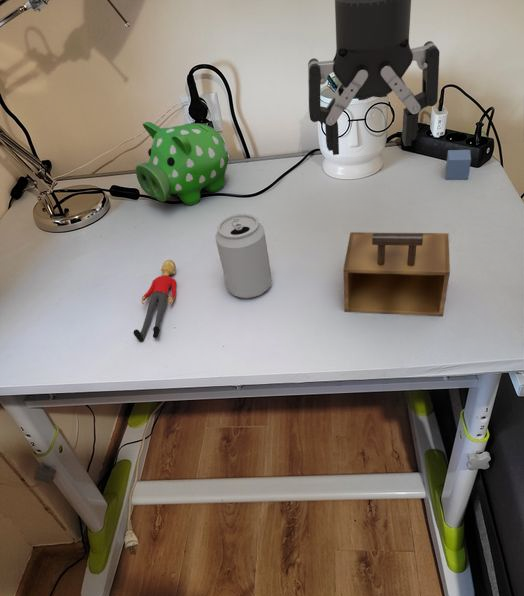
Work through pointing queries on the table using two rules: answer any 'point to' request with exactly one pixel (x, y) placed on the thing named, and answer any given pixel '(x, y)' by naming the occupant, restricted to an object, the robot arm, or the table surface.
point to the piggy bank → (183, 162)
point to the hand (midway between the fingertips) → (370, 147)
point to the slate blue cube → (458, 164)
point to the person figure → (158, 299)
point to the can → (244, 255)
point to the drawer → (396, 273)
